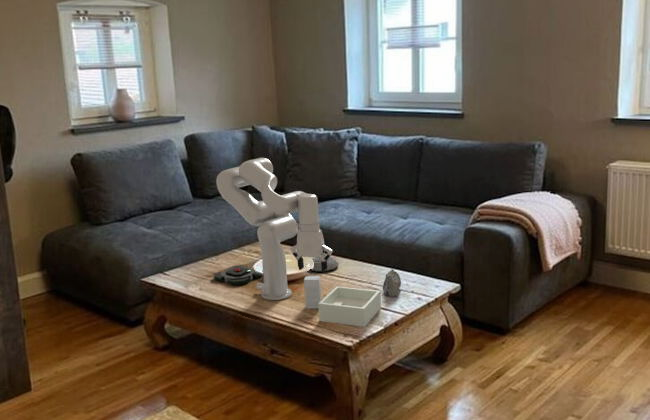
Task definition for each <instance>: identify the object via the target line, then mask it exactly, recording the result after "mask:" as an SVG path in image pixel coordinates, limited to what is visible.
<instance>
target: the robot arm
mask: <svg viewBox="0 0 650 420" xmlns="http://www.w3.org/2000/svg"><path fill="white" fill-rule="evenodd" d="M273 172H274V166H273V164H272V162H271V161H270V160H269V158H265V157H258V158H255V159H254V158H253V159H249V160H246V161H244V162H242V163H241V164H240V165H238V166H236V167H230V168H228V169H224V170H223V171H222V170H221V172H220V173H218V175H217V176H216V180H215V182H216V188H217V190H218V192H219V194H220V195H221V197H222V199H224V200H225V201H226V202H227V203H228V204H229V205H231V206H232V207H233V208H234V209H235V210H236V211H237V212H238V213H239V214H240V215H241V216H242V218H243V219H244V220H245V221H246V222H247V223H248V224H249V225H251V226H252V227H258V228H257V231H256V232H257V233H256V234H257V239H258V241H259V245H260V251H261V263H262V272H263V275H262V276H263V282H257V283H256V290H261V292H260V297H261V298H262V299H263V300H267V301H280V300H281V301H282V300H285V299H288V298H289V297H291V296H292V293H293V292H292V290H291V288H289V287H288V277H287V275H288V273H287V261H286V260H287V258H286V251H285V249H284V248H283V246H282V245H281V242H284V241H287V240H289V239H291V238H295V236H296V235H297V237H296V244H295V245H293V246H291V247H290V252H291V253H292V256H294V257H295V260H296V261H297V267H298V271H301V270H302V269H304V268H305V266H304V258H303V257H305V258H317V257H320V259H321V260H322V262H321V267H322V271H321V272H323V273H324V272H326V271H325V270H326V269H327V260H328V258H329V257H331V256H332V254H333V252H334V250H333V249H331V248H330V247H328V246H326V245H325V239H324V234H323V231H322V229H320V228H321V227H320V215H319V202H318V201H319V200H318V196H317V195H316V194H314V193H313V194H312V193H307V192H304V191H302V190H296V191H292V192H288V193H284V194H282V195H280V194H278V193H276V192H275V189H276V187H277V185H278V178H277V176H276V175H275V174H273ZM246 186H252V187H254V188H255V189H257V191H259V192H260V193H261V195H260V196H261V198H262V200H257V199H255V198H254V196H252V194H250V193H249V192H248V191H246V190H243V189H241V188H243V187H246ZM297 212H298V221H299V222H298V223H297V221H296V219H295V218H294V217H293V216H292V215H291V214H293V213H297ZM326 252H327V254H326Z"/></svg>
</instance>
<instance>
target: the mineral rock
mask: <svg viewBox="0 0 650 420" xmlns="http://www.w3.org/2000/svg"><path fill="white" fill-rule="evenodd" d="M401 286H402V280H401V276H400V274H399V273H398V272H397V271H395V269H394V268H391V270H389V271H388V272H387V274H385V279H384V281H383V284H382V291H383V293H384V294H383V295H385V297H391V298H394V297H398V296H399V295H400V288H401Z"/></svg>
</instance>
